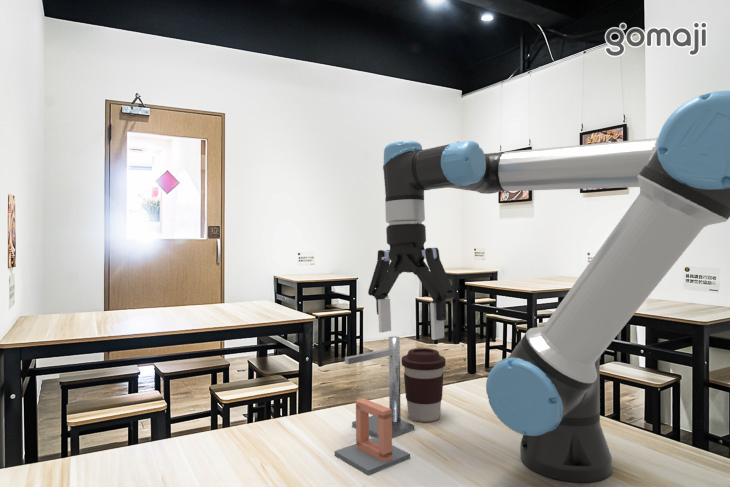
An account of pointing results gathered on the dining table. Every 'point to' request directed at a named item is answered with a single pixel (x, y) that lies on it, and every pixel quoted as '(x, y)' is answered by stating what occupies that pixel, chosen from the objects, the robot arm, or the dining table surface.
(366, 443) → the link
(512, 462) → the dining table surface
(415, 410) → the coffee cup
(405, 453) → the coaster
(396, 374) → the stand
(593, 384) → the robot arm
